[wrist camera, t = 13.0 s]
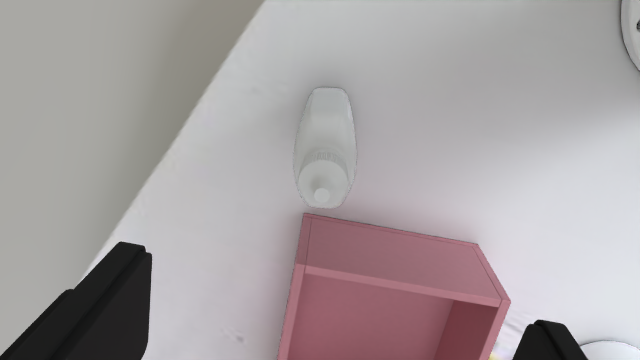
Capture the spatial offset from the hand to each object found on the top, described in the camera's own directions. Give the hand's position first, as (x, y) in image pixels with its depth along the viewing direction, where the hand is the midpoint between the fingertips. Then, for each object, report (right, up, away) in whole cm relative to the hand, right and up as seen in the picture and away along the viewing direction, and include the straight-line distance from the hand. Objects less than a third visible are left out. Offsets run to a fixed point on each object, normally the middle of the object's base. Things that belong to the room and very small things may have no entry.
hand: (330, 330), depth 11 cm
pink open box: (+4, -7, +25) cm, 27 cm away
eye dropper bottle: (0, +7, +20) cm, 22 cm away
